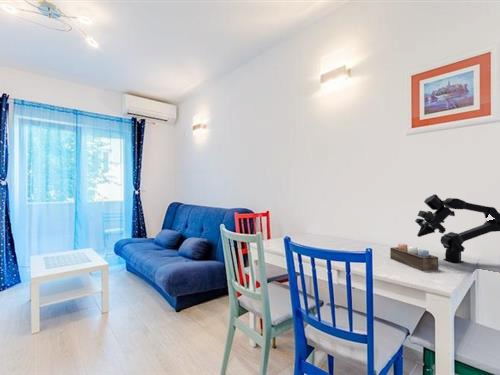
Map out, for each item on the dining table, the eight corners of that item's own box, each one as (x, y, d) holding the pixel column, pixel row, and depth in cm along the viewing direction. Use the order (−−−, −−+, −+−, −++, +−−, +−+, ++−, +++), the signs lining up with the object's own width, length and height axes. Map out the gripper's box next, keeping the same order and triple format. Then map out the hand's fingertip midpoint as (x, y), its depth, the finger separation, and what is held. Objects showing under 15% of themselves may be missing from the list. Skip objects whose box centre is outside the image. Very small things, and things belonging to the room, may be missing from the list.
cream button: (413, 255, 139) (413, 246, 139) (419, 257, 135) (419, 248, 135) (405, 255, 139) (405, 246, 139) (412, 258, 134) (411, 248, 134)
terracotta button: (403, 252, 146) (403, 243, 146) (409, 254, 142) (409, 245, 142) (396, 252, 146) (396, 243, 146) (402, 254, 141) (402, 245, 141)
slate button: (423, 259, 132) (423, 249, 132) (431, 261, 128) (431, 251, 128) (415, 259, 132) (415, 249, 132) (423, 261, 127) (422, 251, 127)
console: (404, 257, 148) (404, 247, 148) (438, 269, 127) (438, 257, 127) (390, 258, 147) (390, 247, 147) (421, 270, 125) (421, 258, 125)
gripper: (418, 204, 152) (398, 223, 153) (439, 206, 133) (416, 228, 134) (432, 218, 151) (412, 237, 152) (455, 222, 133) (432, 243, 134)
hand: (418, 236), depth 143 cm, fingers closed
